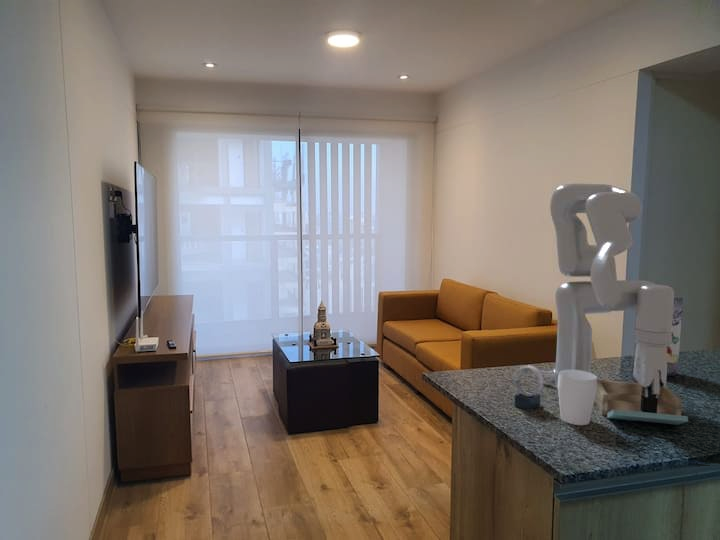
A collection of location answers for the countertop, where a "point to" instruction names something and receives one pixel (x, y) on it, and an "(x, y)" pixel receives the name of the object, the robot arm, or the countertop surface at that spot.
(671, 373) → the juice carton
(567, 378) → the cup
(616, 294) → the robot arm
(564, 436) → the countertop surface
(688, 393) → the countertop surface
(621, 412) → the panel
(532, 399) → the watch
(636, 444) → the countertop surface
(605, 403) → the crate
